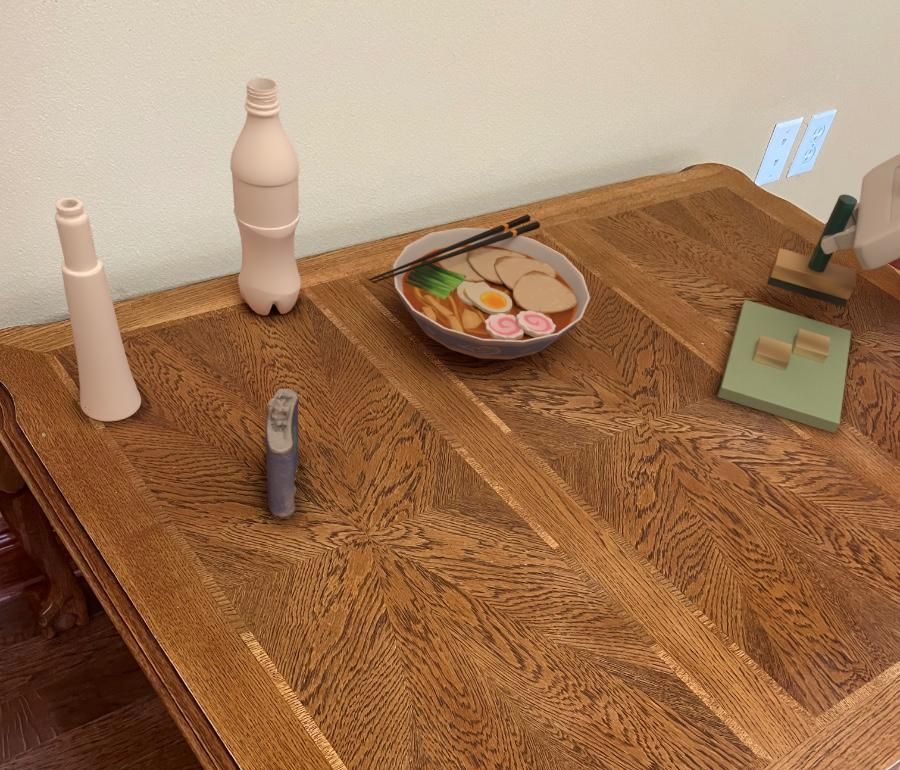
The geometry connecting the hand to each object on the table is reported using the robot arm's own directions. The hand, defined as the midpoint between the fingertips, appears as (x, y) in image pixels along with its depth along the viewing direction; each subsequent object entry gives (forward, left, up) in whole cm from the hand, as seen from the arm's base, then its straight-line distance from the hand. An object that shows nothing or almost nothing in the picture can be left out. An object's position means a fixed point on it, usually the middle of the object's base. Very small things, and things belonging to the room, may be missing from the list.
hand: (824, 239), depth 116 cm
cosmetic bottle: (+84, -21, -11) cm, 87 cm away
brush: (0, +1, -7) cm, 7 cm away
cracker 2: (+6, +8, -9) cm, 13 cm away
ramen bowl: (+41, -14, -11) cm, 44 cm away
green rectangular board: (+10, +8, -11) cm, 16 cm away
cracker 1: (+12, +7, -9) cm, 16 cm away
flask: (+74, -2, -11) cm, 74 cm away
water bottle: (+61, -30, -11) cm, 68 cm away
